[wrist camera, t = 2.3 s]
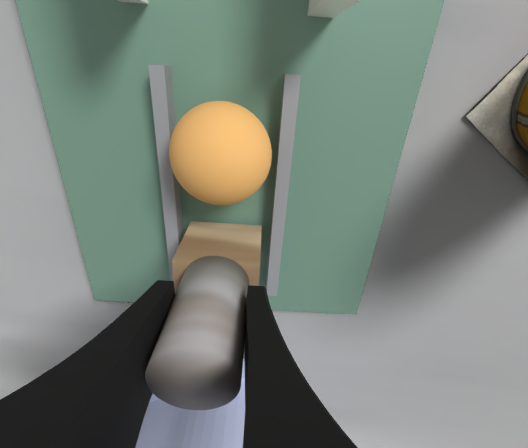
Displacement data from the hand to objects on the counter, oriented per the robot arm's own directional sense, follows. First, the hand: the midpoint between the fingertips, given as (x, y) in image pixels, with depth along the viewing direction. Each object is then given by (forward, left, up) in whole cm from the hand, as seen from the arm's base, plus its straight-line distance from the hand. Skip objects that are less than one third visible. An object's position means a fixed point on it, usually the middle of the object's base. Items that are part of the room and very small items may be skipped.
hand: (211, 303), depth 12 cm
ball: (+2, +4, -3) cm, 6 cm away
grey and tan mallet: (0, 0, -5) cm, 5 cm away
